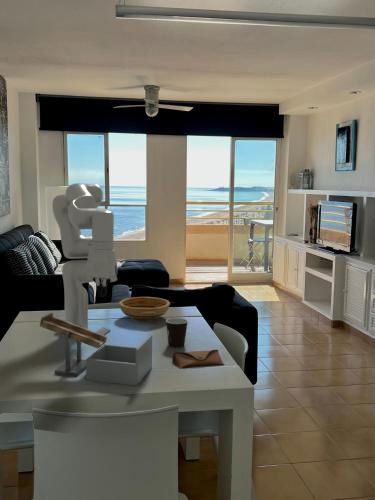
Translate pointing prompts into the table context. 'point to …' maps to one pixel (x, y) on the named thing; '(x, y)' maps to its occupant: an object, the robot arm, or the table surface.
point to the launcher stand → (71, 360)
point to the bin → (120, 363)
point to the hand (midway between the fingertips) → (102, 296)
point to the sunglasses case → (196, 359)
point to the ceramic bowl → (144, 308)
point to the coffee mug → (176, 332)
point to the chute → (75, 331)
